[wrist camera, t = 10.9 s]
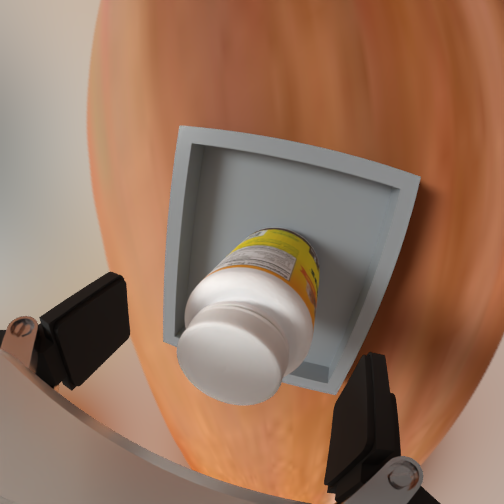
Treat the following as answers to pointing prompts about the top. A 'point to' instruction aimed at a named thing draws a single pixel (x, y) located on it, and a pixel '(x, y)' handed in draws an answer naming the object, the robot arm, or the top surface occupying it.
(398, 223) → the tray
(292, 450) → the top surface
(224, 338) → the supplement bottle
